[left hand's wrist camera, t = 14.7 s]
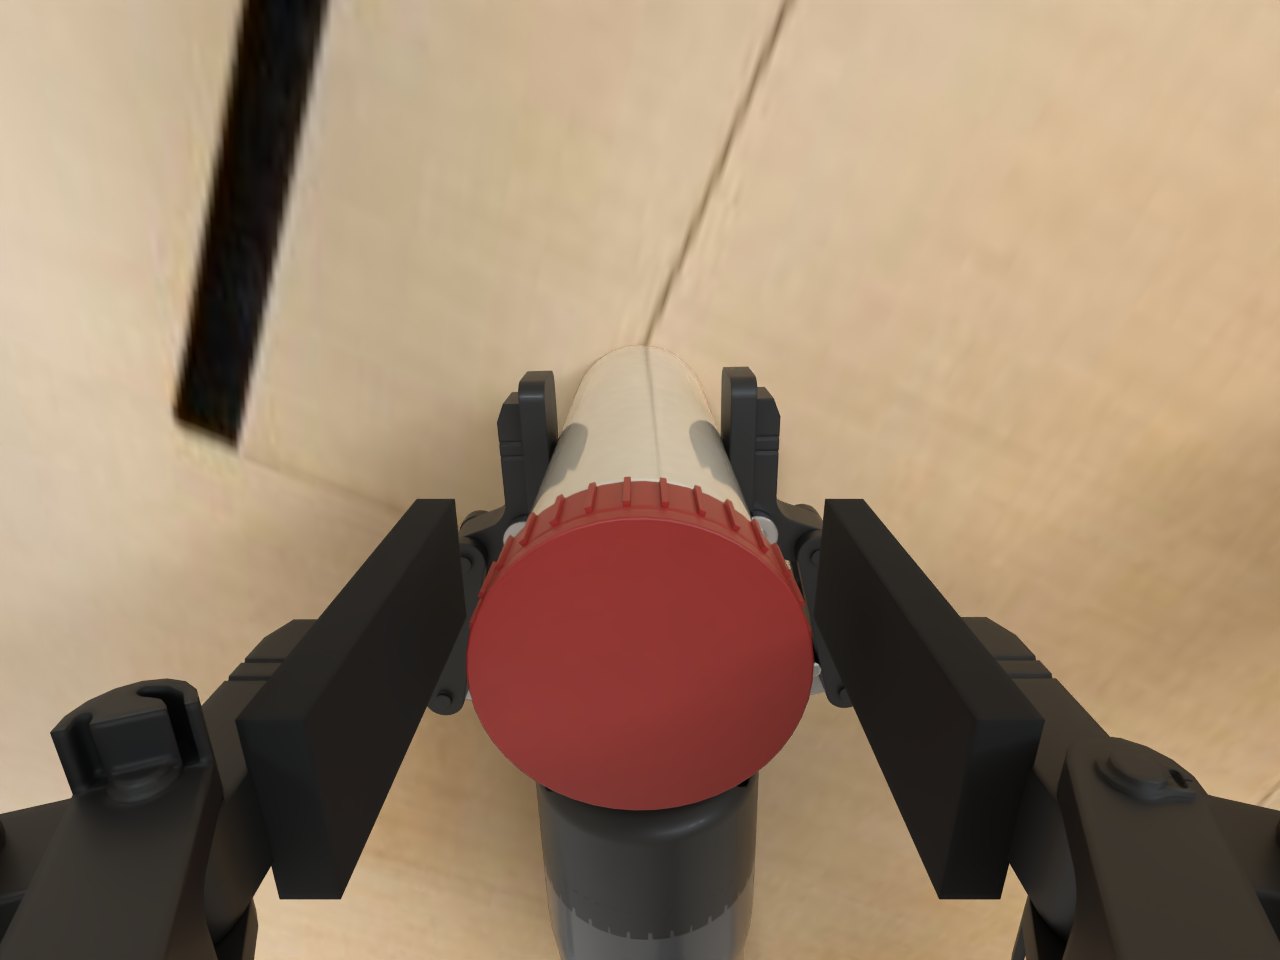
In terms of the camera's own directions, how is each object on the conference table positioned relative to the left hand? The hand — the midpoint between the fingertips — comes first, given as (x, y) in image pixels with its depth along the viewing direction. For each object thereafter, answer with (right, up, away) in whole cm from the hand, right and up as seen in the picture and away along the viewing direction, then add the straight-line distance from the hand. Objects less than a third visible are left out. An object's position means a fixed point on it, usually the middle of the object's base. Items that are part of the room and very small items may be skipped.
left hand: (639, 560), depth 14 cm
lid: (0, -1, -3) cm, 3 cm away
